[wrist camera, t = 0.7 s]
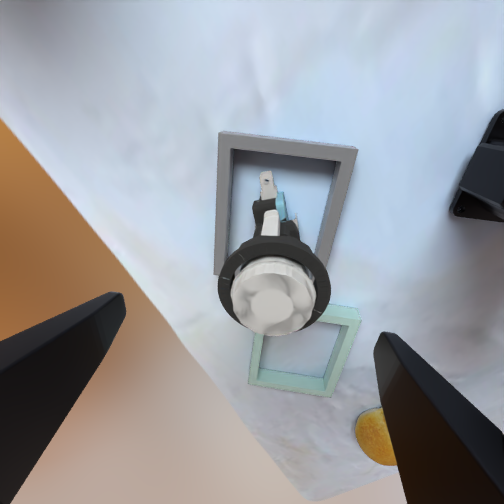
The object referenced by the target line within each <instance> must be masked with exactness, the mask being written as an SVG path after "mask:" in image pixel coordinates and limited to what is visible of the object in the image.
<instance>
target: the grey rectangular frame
mask: <svg viewBox="0 0 504 504" xmlns="http://www.w3.org/2000/svg"><path fill="white" fill-rule="evenodd" d="M234 149H242V150H250V151H259V152H267V153H275V154H283V155H292V156H300V157H308V158H316V159H325V160H333V161H337V162H336V166H335V170H334V174H333V178H332V183H331V187H330V191H329V195H328V199H327V203H326V207H325V212H324V216H323V220H322V224H321V228H320V232H319V236H318V240H317V245H316V249H315V253H314V254H315V255H316V256H317V257H318V258H319V259H320V261H321V262H322V263H323V265H324V267H325V268H326V266H327V262H328V259H329V255H330V251H331V248H332V244H333V240H334V237H335V233H336V229H337V226H338V222H339V218H340V215H341V211H342V208H343V204H344V200H345V197H346V193H347V189H348V186H349V182H350V178H351V175H352V171H353V167H354V164H355V160H356V157H357V153H358V149H357V148H355V147H353V146H346V145H337V144H329V143H320V142H312V141H303V140H295V139H287V138H278V137H270V136H261V135H253V134H244V133H236V132H227V131H222V132H220V133H218V161H217V190H216V219H215V248H214V275H220V272H221V270H222V267H223V265H224V263H225V262H226V260H227V256H228V240H229V224H230V208H231V192H232V176H233V160H234ZM241 266H242V265H241ZM241 266H239V267H238V268H237V270H236V271H235V277H236V276H237V275H238V274H239V273H240V269H241ZM308 271H309V278H310V279H311V280H312V283H313V282H314V276H313V274H312V273H311V272H310V270H308Z"/></svg>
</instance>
